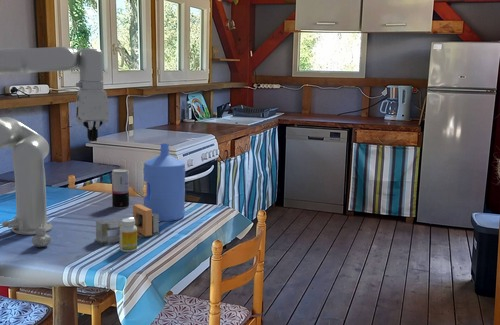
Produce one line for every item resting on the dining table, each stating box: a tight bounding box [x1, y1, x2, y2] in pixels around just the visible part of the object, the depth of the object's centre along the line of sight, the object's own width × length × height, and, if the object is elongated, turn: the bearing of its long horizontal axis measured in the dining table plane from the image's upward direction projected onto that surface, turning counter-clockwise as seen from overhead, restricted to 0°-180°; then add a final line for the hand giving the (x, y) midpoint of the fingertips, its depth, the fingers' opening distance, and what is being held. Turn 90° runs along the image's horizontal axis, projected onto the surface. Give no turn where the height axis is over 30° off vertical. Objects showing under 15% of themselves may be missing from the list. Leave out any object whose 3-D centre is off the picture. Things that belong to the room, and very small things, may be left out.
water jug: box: [143, 143, 186, 222], centre depth 199 cm, size 16×16×28 cm
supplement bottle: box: [119, 217, 138, 253], centre depth 164 cm, size 5×5×10 cm
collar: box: [132, 203, 152, 237], centre depth 179 cm, size 2×9×9 cm, turn 39°
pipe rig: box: [94, 212, 161, 246], centre depth 176 cm, size 21×6×7 cm, turn 129°
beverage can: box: [111, 168, 130, 210], centre depth 212 cm, size 7×6×15 cm
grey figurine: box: [31, 222, 52, 248], centre depth 164 cm, size 5×7×8 cm
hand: (92, 140), depth 179 cm, fingers closed
